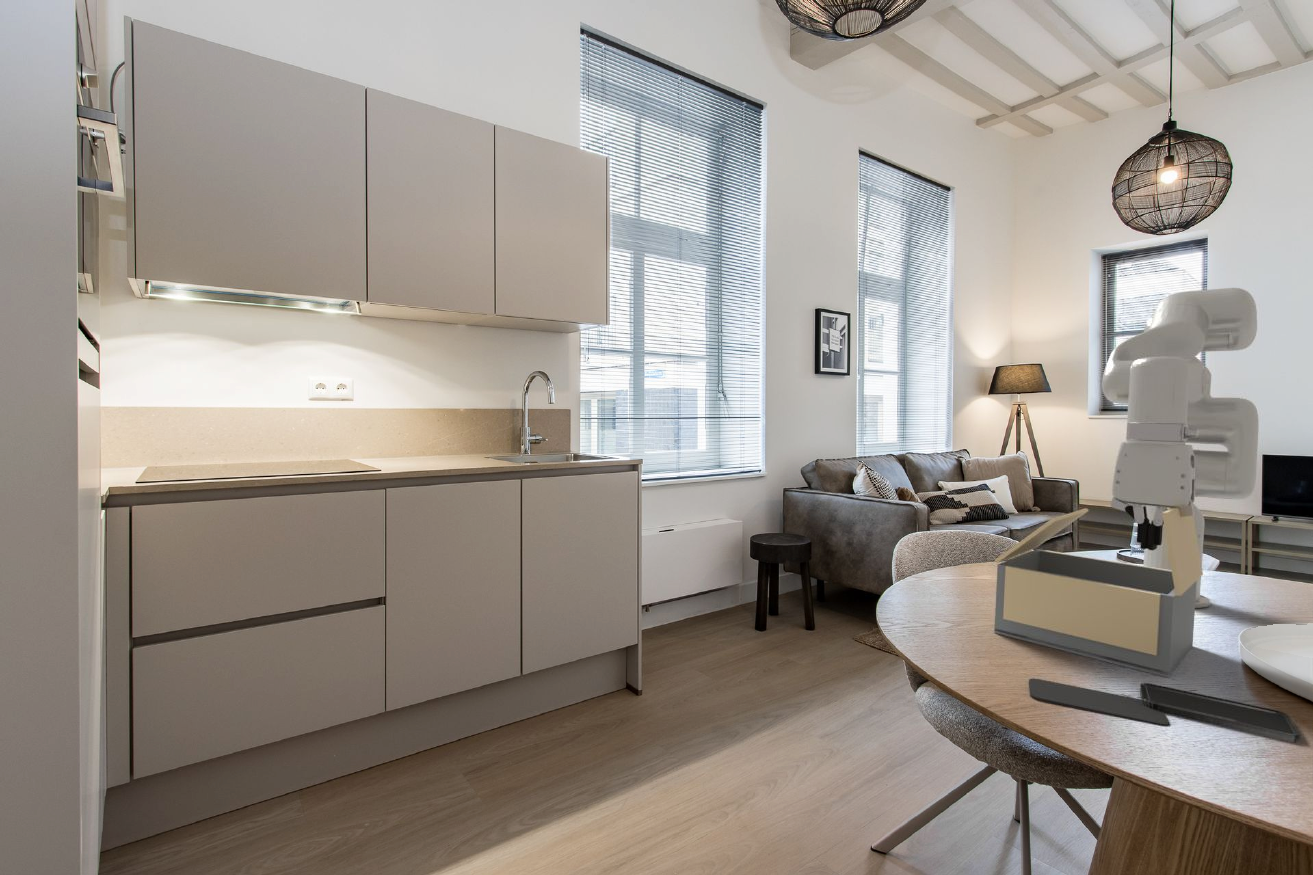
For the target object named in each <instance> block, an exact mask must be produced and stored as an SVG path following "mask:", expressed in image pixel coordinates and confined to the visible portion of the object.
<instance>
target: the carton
mask: <svg viewBox="0 0 1313 875" xmlns="http://www.w3.org/2000/svg"><path fill="white" fill-rule="evenodd" d="M996 570H997V571H996V587H995V588H996V592H995V612H994V630H993V631H994V634H998V635H1001V636H1005V637H1009V638H1014V639H1016V640H1021V641H1023V642H1028V643H1033V644H1035V645H1036V644H1037V645H1040V646H1043V647H1048V648H1052V649H1056V650H1059V651H1063V652H1067V653H1072V654H1075V655H1080V656H1083V657H1087V658H1091V659H1094V660H1098V661H1102V662H1106V663H1111V664H1114V665H1118V666H1122V667H1126V668H1130V669H1133V670H1136V671H1137V670H1138V671H1141V672H1145V673H1147V674H1149V673H1150V674H1154V675H1156V676H1160V677H1164V678H1168V679H1169V678H1170V677H1171V676H1172V674H1173V673H1174V672H1175V670H1176V668H1177V667H1178V666H1179V665H1180V663H1181V662H1182V661H1183V660H1184V658H1185V657H1186V656H1187V654H1188V653H1189V652H1190V650H1191V649H1192V647H1193V644H1194V629H1195V611H1196V608H1195V599H1196V583H1197V581H1196V582H1195V583H1194V584H1193V585H1191V586H1190V587H1189V588H1188V589H1187V590H1186V591H1185V592H1184V593H1183V594H1182V595H1181V596H1177V595H1176V594H1175V588H1174V582H1173V576H1172V570H1167V569H1160V568H1154V567H1148V566H1143V565H1141V564H1134V563H1129V562H1121V561H1115V560H1109V559H1102V558H1096V557H1091V556H1085V555H1078V554H1072V553H1071V554H1070V553H1066V552H1065V553H1064V552H1060V551H1053V550H1047V549H1046V550H1045V549H1044V550H1043V549H1037V548H1035V549H1033V550H1030V551H1028V552H1025V553H1022V555H1021V554H1020V555H1017V556H1015V557H1014V558H1013V557H1012V558H1010V559H1007V560H1006V561H1005V560H1004V561H1002V562H1001V563H1000V562H999V563H997V569H996Z"/></svg>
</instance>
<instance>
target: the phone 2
mask: <svg viewBox="0 0 1313 875" xmlns="http://www.w3.org/2000/svg"><path fill="white" fill-rule="evenodd" d="M1139 693H1140V699H1141V701H1142V704H1143V705H1144V706H1146V707H1149V708H1152V709H1156V710H1160V711H1163V712H1164V713H1165V715H1166V714H1167V715H1170V716H1171V715H1172V716H1176V717H1180V718H1185V719H1189V720H1193V721H1196V722H1200V723H1201V722H1202V723H1205V724H1210V725H1215V726H1219V727H1223V728H1228V729H1232V730H1236V731H1239V732H1240V731H1241V732H1245V733H1249V734H1254V735H1259V736H1263V737H1267V738H1272V739H1275V740H1281V741H1285V742H1289V743H1300V742H1301V733H1300V730H1299V729H1298V728H1297V726H1296V724H1295V723H1294V721H1293V719H1292V718H1291V716H1290V715H1289V714H1287V713H1286V712H1283V711H1281V710H1277V709H1272V708H1267V707H1264V706H1262V707H1261V706H1257V705H1252V704H1249V703H1244V702H1238V701H1234V700H1229V699H1225V698H1221V697H1220V698H1219V697H1215V696H1210V695H1206V694H1200V693H1196V692H1191V691H1187V690H1182V689H1176V688H1173V687H1170V686H1169V687H1168V686H1164V685H1158V684H1154V683H1148V682H1141V683H1140V686H1139Z"/></svg>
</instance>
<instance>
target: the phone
mask: <svg viewBox="0 0 1313 875" xmlns="http://www.w3.org/2000/svg"><path fill="white" fill-rule="evenodd" d="M1028 690H1029V696H1030V698H1031V699H1033V700H1035V701H1038V702H1042V703H1046V704H1047V703H1048V704H1052V705H1056V706H1062V707H1066V708H1073V709H1076V710H1081V711H1087V712H1092V713H1096V714H1102V715H1107V716H1112V717H1117V718H1122V719H1127V720H1131V721H1136V722H1142V723H1146V724H1152V725H1156V726H1162V727H1168V726H1170V724H1171V723H1170V721H1169V719H1168V717H1167V715H1166V713H1164V712H1163V711H1160V710H1156V709H1152V708H1149V707H1146V706H1144V705H1143V704H1142V701H1141V698H1135V697H1130V696H1126V695H1121V694H1116V693H1112V692H1111V693H1110V692H1105V691H1101V690H1097V689H1096V690H1095V689H1091V688H1086V687H1080V686H1076V685H1075V686H1074V685H1070V684H1065V683H1059V682H1055V681H1051V680H1045V679H1040V678H1030V679H1028Z"/></svg>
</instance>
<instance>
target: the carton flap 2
mask: <svg viewBox="0 0 1313 875" xmlns="http://www.w3.org/2000/svg"><path fill="white" fill-rule="evenodd" d="M1179 509H1180V508H1172V509H1169V510H1167V511H1165V512H1163V513H1162V515H1163V521H1164V527H1165V533H1166V539H1167V545H1168V551H1169V558H1170V564H1171V570H1172V576H1173V582H1174V588H1175V594H1176V595H1177V596H1181V595H1182V594H1183V593H1184V592H1185V591H1186V590H1187V589H1188V588H1189V587H1190V586H1191V585H1193V584H1194V583H1195V582H1196V581H1197V580H1198V579H1199V578H1200V577H1201V578H1202V577H1203V575H1204V572H1203V571H1204V570H1203V564H1202V565H1201V559H1200V553H1199V547H1198V541H1197V535H1196V529H1195V523H1194V517H1193V515H1192V516H1185V517H1181V516H1180V510H1179Z"/></svg>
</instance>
